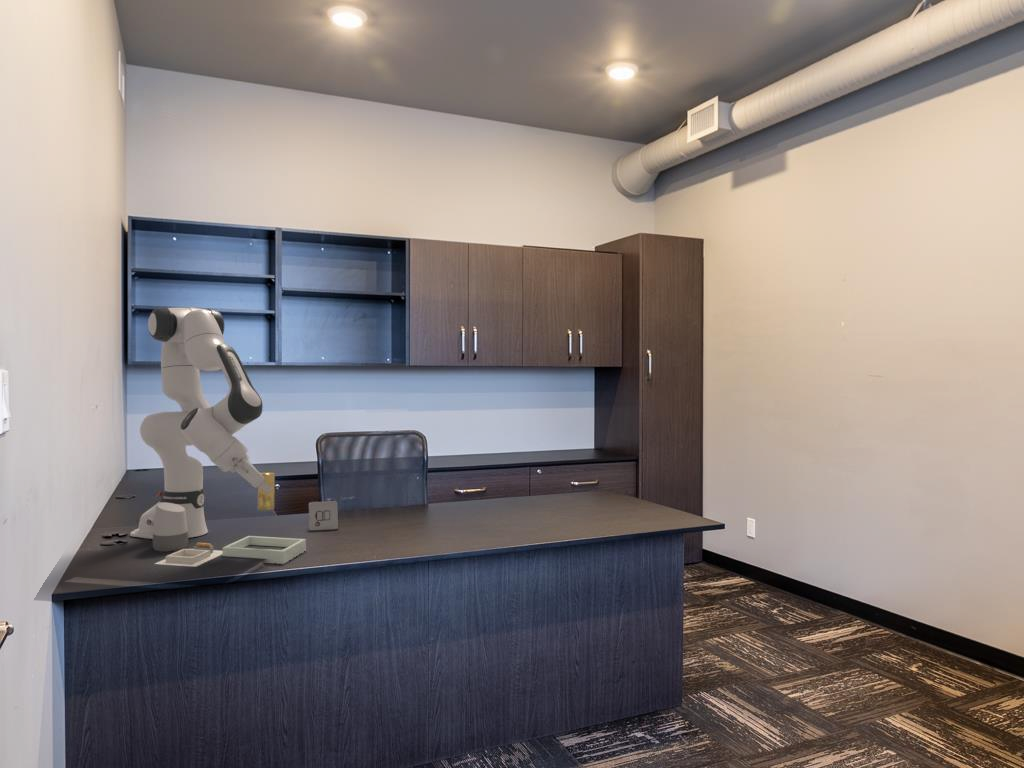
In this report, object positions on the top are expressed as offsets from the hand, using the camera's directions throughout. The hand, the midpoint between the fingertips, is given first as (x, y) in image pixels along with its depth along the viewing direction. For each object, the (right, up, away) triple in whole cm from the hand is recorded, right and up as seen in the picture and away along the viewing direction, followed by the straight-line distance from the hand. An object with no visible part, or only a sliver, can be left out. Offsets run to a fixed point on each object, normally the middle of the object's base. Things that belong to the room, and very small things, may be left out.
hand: (268, 489), depth 202 cm
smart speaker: (-29, -18, +2) cm, 34 cm away
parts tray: (-1, -19, 0) cm, 19 cm away
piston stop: (-1, -5, 0) cm, 5 cm away
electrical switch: (+6, -18, +35) cm, 40 cm away
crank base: (-18, -19, -7) cm, 27 cm away
